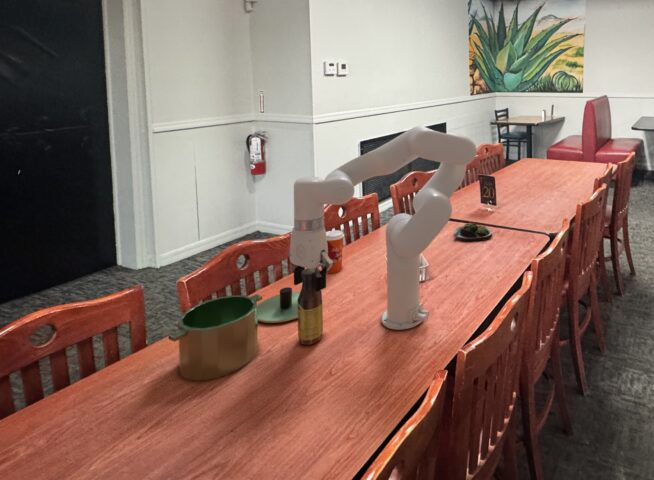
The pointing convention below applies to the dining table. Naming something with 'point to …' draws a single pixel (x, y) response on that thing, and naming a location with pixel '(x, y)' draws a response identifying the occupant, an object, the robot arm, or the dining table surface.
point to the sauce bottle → (309, 310)
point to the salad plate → (472, 232)
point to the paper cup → (335, 249)
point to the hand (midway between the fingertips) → (309, 285)
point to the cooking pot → (217, 336)
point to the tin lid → (279, 307)
